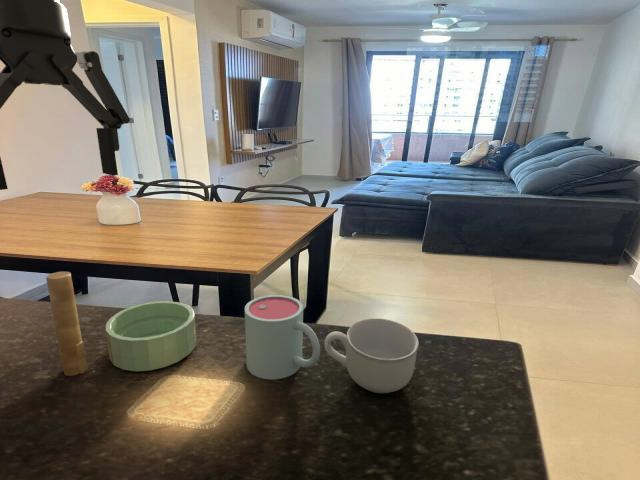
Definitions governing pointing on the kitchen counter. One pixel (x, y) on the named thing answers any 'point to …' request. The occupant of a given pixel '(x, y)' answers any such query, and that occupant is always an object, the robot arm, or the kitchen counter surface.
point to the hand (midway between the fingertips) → (60, 180)
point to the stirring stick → (66, 323)
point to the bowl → (151, 335)
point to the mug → (277, 337)
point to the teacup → (377, 354)
